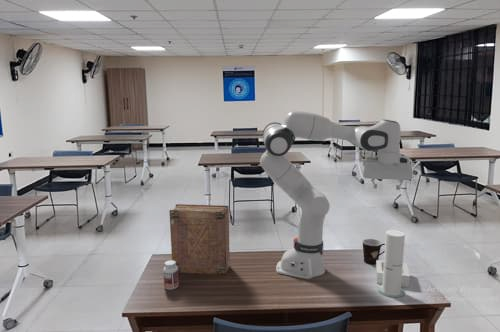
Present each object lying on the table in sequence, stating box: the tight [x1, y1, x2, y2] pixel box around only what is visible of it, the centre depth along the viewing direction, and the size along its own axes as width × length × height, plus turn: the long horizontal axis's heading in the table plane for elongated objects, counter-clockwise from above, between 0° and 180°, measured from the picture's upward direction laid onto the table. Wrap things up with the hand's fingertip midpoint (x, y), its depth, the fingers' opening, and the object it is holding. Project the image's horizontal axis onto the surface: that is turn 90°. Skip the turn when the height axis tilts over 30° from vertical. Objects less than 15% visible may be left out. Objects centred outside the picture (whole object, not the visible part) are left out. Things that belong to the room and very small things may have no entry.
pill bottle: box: [162, 259, 180, 291], centre depth 168 cm, size 6×6×11 cm
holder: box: [375, 259, 411, 288], centre depth 174 cm, size 13×13×5 cm
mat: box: [378, 284, 405, 298], centre depth 163 cm, size 10×10×1 cm
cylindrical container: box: [381, 229, 406, 295], centre depth 160 cm, size 7×7×25 cm
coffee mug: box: [362, 238, 385, 266], centre depth 190 cm, size 12×9×10 cm
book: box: [169, 203, 231, 276], centre depth 182 cm, size 25×9×30 cm, turn 82°
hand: (386, 188), depth 173 cm, fingers open, 8 cm apart
